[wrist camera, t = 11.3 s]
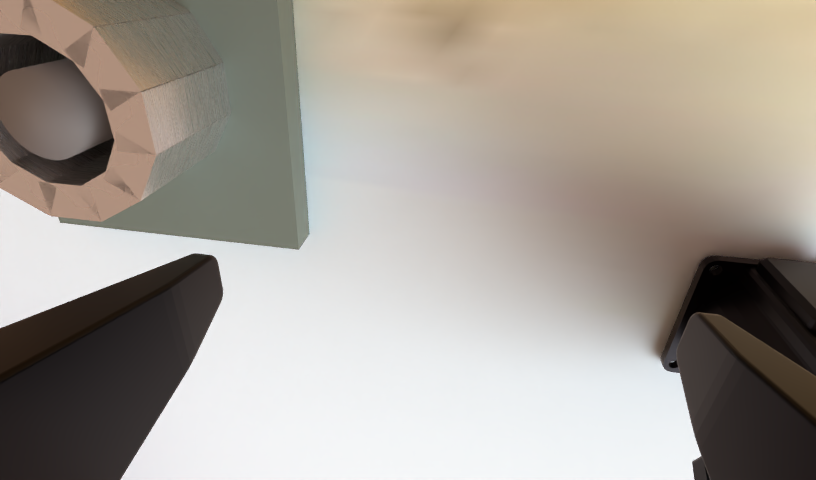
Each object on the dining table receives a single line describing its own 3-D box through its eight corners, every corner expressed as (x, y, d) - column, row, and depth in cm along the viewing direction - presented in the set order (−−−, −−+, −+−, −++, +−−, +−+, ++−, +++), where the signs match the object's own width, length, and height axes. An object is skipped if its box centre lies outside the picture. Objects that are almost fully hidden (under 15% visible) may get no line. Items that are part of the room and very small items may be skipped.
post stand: (309, 233, 23) (252, 318, 18) (83, 209, 24) (-38, 280, 19) (283, -127, 16) (174, -177, 10) (-34, -136, 17) (-282, -185, 12)
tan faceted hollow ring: (240, 174, 20) (173, 229, 16) (85, 159, 21) (-18, 208, 17) (212, -17, 17) (116, -12, 12) (26, -27, 17) (-124, -25, 13)
